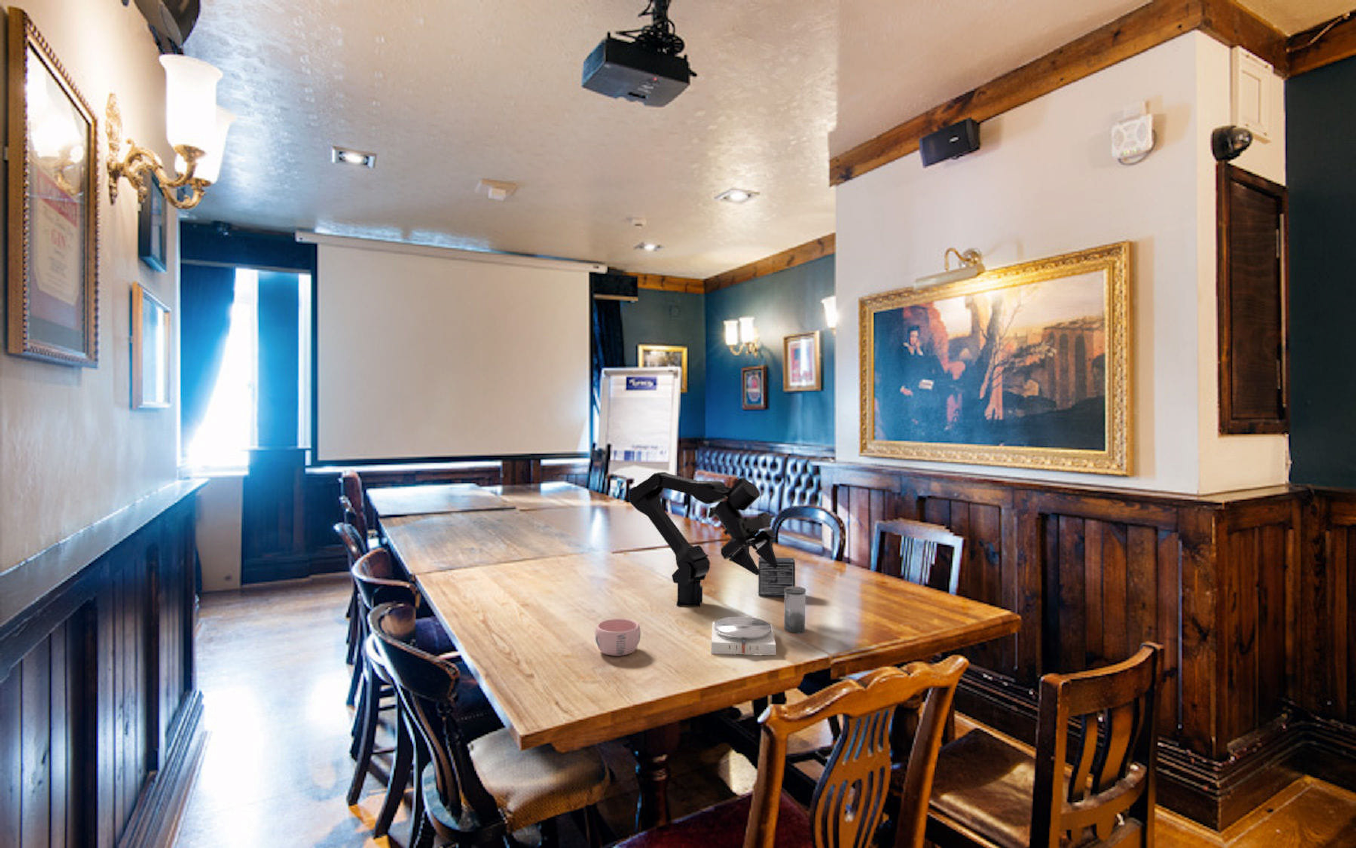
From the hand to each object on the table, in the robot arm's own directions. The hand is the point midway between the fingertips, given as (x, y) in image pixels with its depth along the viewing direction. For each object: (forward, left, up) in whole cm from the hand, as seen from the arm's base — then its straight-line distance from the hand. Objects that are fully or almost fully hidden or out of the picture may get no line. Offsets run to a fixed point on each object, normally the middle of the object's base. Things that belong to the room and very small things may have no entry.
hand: (767, 570), depth 164 cm
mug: (-35, -23, -13) cm, 44 cm away
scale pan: (-7, -17, -12) cm, 22 cm away
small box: (+4, +26, -13) cm, 29 cm away
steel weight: (+6, -5, -13) cm, 15 cm away
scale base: (-7, -16, -13) cm, 22 cm away
